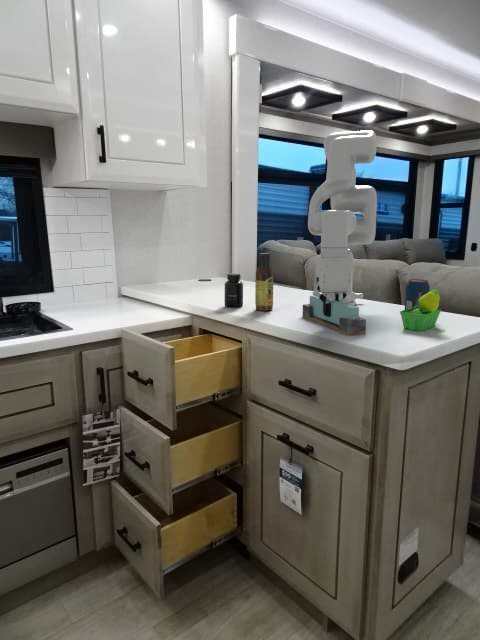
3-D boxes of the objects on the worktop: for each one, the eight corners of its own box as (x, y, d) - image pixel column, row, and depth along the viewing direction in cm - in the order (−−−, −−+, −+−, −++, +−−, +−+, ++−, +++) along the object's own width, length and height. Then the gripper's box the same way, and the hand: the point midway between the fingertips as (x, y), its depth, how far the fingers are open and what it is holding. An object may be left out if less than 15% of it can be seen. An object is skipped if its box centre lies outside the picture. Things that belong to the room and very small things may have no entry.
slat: (309, 314, 145) (309, 295, 143) (316, 313, 145) (316, 295, 144) (350, 329, 122) (351, 307, 121) (357, 328, 123) (358, 307, 122)
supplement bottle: (229, 308, 160) (229, 275, 158) (221, 306, 166) (220, 273, 164) (246, 307, 163) (246, 274, 161) (237, 304, 169) (237, 272, 167)
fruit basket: (415, 322, 136) (418, 285, 134) (445, 327, 130) (448, 288, 128) (397, 328, 129) (399, 289, 126) (427, 333, 122) (430, 293, 120)
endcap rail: (317, 315, 148) (318, 303, 147) (365, 333, 123) (366, 319, 122) (302, 316, 146) (302, 304, 145) (347, 335, 121) (348, 321, 120)
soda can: (414, 314, 148) (417, 278, 145) (432, 318, 142) (435, 280, 139) (399, 316, 144) (401, 279, 142) (416, 320, 138) (419, 282, 136)
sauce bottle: (271, 311, 154) (272, 253, 150) (253, 311, 156) (253, 253, 151) (274, 308, 161) (274, 252, 156) (257, 307, 162) (257, 252, 158)
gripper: (350, 252, 136) (348, 311, 140) (303, 253, 131) (301, 315, 135) (365, 253, 129) (361, 316, 133) (315, 255, 124) (313, 320, 128)
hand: (331, 315), depth 134 cm, fingers closed on slat, 2 cm apart
